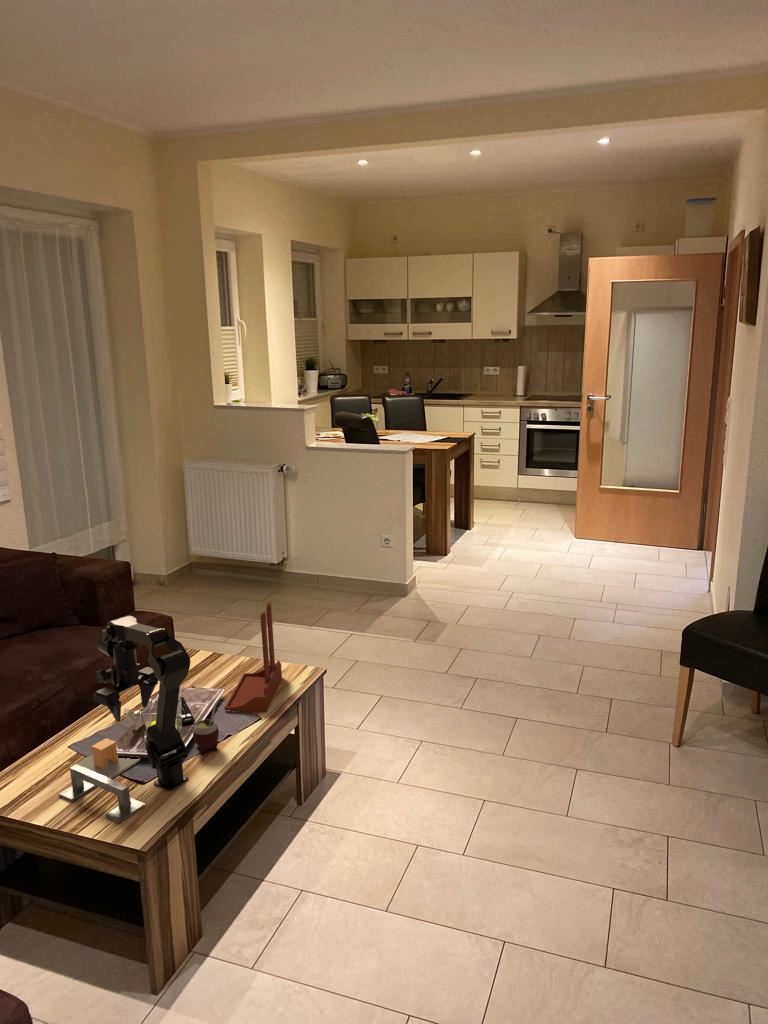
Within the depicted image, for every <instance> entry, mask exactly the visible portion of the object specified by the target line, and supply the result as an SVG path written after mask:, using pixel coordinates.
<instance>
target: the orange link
mask: <svg viewBox="0 0 768 1024" xmlns="http://www.w3.org/2000/svg"><path fill="white" fill-rule="evenodd" d="M117 750H118V749H117V741H115V740H112V739H109V738H108V737H106V738H104V739H102V740H100V741H99V742H97V743H95V744H93V745H91V751H92V754H93V760H94V765H96V766H98V767H100V768H103V769H104V768H106V767H107V765H106V759H109V760H111V761H114V762H116V761H118V755H117Z"/></svg>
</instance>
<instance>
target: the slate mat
mask: <svg viewBox="0 0 768 1024" xmlns="http://www.w3.org/2000/svg"><path fill="white" fill-rule="evenodd" d="M140 759H141V758H139V759H130V758H126V759H125V758H118V761H116V762H114V761H111V760H109V759H106V765H107V767H106V768H104V769H103V768H100V767H98V766H96V765H94V760H93V753H92V754H89V756H87V757H84V758H83V759H82V760H80V761H77V762H76V763H74V764H73V765H71V767H72V766H74V765H76V764H77V765H79V766H82V767H84V768H87V769H89V770H91V771H94V772H96V773H98V774H101V775H103V776H106V777H108V778H110V779H114V778H116V777H117V776H120V774H122V773H123V771H124V772H125V771H127V770H128V768H129V769H130V768H132V767H134V766H135V765H137V764H139V763H140V762H141V761H140ZM139 761H140V762H139ZM138 762H139V763H138ZM136 763H137V764H136ZM133 765H134V766H133ZM131 766H132V767H131ZM126 769H127V770H126Z"/></svg>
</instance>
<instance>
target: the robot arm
mask: <svg viewBox="0 0 768 1024" xmlns="http://www.w3.org/2000/svg"><path fill="white" fill-rule="evenodd" d="M106 624H107V626H105V628H104V629H103V630H102V634H101V635H100V636H99V638H98V640H97V643H96V646H97V649H98V650H99V651H100V652H102V653H103V654H105V655H107V656H108V657H110V658H113V665H112V666H111V667H110V668H109V669H100V670H98V671H96V672H95V673H96V680H97V682H98V683H99V684H102V683H104V685H106V684H107V683H108V684H109V683H111V685H113V686H115V685H116V687H113V688H111V687H108V686H105V687H103V688H101V689H98V690H96V691H95V693H93V702H94V703H97V704H100V705H102V706H104V707H107V709H109V711H110V713H111V715H112V716H113V718H114V719H115V722H118V723H119V722H121V715H122V713H121V712H122V701H121V700H120V699H121V696H120V695H121V694H122V693H124V692H126V691H128V690H131V689H132V688H134V687H136V686H137V685H138V687H139V689H140V699H141V705H142V707H143V708H147V706H148V703H149V701H150V699H151V697H152V694H153V693H154V690H155V689H156V686H157V685H158V684H159V686H158V687H159V689H158V698H157V707H156V717H155V723H154V724H152V725H149V726H148V727H147V729H146V737H145V740H146V741H145V742H146V743H145V751H146V754H147V755H146V756H147V759H148V761H149V764H150V765H151V769H153V770H154V769H155V770H156V775H157V779H156V780H153V785H156V786H158V787H160V788H163V789H165V790H167V791H173V790H174V789H175V788H178V787H179V786H180V785H181V784H184V783H185V782H186V781H187V780H188V779H189V776H187V775H185V774H184V771H183V769H184V768H183V759H187V758H188V757H189V755H188V754H189V751H188V748H187V747H186V744H185V741H183V739H182V736H181V732H180V731H179V730H178V729H177V727H176V722H177V714H178V705H179V699H180V698H179V696H180V689H181V684H182V683H183V682H184V680H185V679H186V678H187V677H188V674H189V671H190V669H191V657H190V655H189V654H188V652H187V650H186V648H185V646H183V644H182V643H181V642H180V641H178V640H177V639H176V638H173V637H172V636H170V635H169V633H168V631H167V629H166V628H161V627H160V628H159V627H154V626H150V625H147V624H143V623H138V618H136V617H134V616H132V615H130V614H129V615H125V616H122V617H119V618H115V619H112V620H109V621H108V622H107V623H106ZM137 644H141V645H144V646H146V648H147V649H148V658H147V661H148V662H147V663H148V664H149V666H150V667H149V666H146V667H144V668H142V669H140V668H141V664H140V663H137V662H138V660H137V651H136V650H137V649H138V648H139V646H138V645H137ZM160 645H164V646H165V647H167V648H169V649H170V650H172V651H171V652H168V653H167V654H164V655H160V656H158V657H156V654H155V648H156V647H157V646H160ZM138 669H140V670H138Z"/></svg>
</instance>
